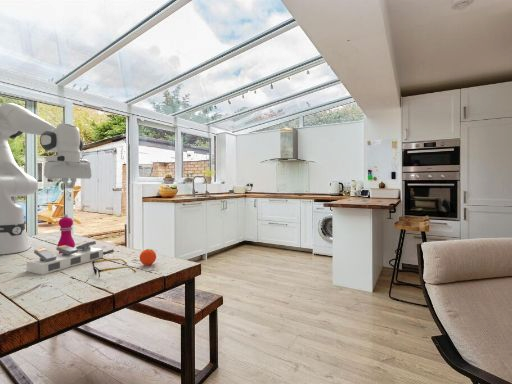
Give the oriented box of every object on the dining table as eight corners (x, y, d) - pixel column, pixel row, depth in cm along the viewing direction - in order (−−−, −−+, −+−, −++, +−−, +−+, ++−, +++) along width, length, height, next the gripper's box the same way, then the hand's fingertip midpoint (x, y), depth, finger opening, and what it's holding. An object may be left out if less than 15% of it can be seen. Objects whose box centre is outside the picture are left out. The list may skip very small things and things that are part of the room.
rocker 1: (33, 252, 117) (34, 249, 116) (43, 250, 120) (44, 247, 120) (46, 261, 114) (47, 258, 113) (56, 259, 117) (56, 256, 117)
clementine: (154, 261, 131) (154, 245, 130) (161, 264, 126) (161, 248, 126) (137, 264, 125) (136, 248, 125) (143, 268, 120) (143, 251, 120)
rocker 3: (76, 249, 133) (76, 246, 133) (84, 248, 137) (83, 245, 137) (88, 245, 130) (87, 242, 130) (96, 243, 133) (95, 240, 134)
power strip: (26, 271, 115) (26, 258, 114) (106, 250, 149) (106, 240, 148) (42, 274, 111) (42, 261, 110) (120, 252, 145) (120, 242, 145)
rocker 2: (56, 249, 125) (56, 246, 125) (64, 248, 128) (65, 244, 128) (69, 254, 122) (69, 251, 122) (77, 252, 125) (77, 249, 125)
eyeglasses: (90, 270, 118) (90, 261, 118) (127, 264, 127) (127, 255, 127) (96, 280, 107) (96, 269, 107) (136, 272, 116) (136, 263, 116)
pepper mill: (66, 256, 136) (65, 215, 135) (53, 255, 138) (53, 214, 137) (78, 252, 143) (78, 213, 142) (66, 252, 145) (65, 213, 144)
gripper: (85, 160, 142) (85, 187, 143) (41, 157, 123) (42, 188, 124) (94, 160, 140) (94, 188, 140) (50, 156, 121) (51, 189, 121)
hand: (69, 188), depth 132 cm, fingers closed
